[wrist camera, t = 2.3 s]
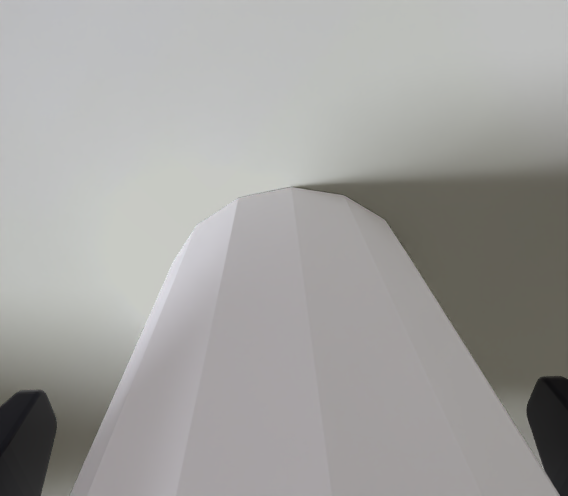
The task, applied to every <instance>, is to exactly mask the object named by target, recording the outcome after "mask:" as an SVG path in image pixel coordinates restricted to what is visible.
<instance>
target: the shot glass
mask: <svg viewBox="0 0 568 496" xmlns="http://www.w3.org/2000/svg"><path fill="white" fill-rule="evenodd" d="M69 496H560V495H559V493H558V492H557V490H556V488H555V487H554V485H553V484H552V482H551V481H550V479H549V477H548V476H547V474H546V473H545V471H544V469H543V468H542V466H541V465H540V463H539V462H538V460H537V458H536V457H535V455H534V454H533V452H532V450H531V449H530V447H529V446H528V444H527V443H526V441H525V439H524V438H523V436H522V435H521V433H520V431H519V430H518V428H517V427H516V425H515V423H514V422H513V420H512V419H511V417H510V416H509V414H508V412H507V411H506V409H505V408H504V406H503V404H502V403H501V401H500V400H499V398H498V397H497V395H496V393H495V392H494V390H493V389H492V387H491V385H490V384H489V382H488V381H487V379H486V378H485V376H484V374H483V373H482V371H481V370H480V368H479V366H478V365H477V363H476V362H475V360H474V358H473V357H472V355H471V354H470V352H469V351H468V349H467V347H466V346H465V344H464V343H463V341H462V339H461V338H460V336H459V335H458V333H457V332H456V330H455V328H454V327H453V325H452V324H451V322H450V320H449V319H448V317H447V316H446V314H445V313H444V311H443V309H442V308H441V306H440V305H439V303H438V301H437V300H436V298H435V297H434V295H433V294H432V292H431V290H430V289H429V287H428V286H427V284H426V282H425V281H424V279H423V278H422V276H421V274H420V273H419V271H418V270H417V268H416V267H415V265H414V263H413V262H412V260H411V259H410V257H409V255H408V254H407V252H406V251H405V249H404V248H403V246H402V245H401V243H400V242H399V240H398V239H397V237H396V236H395V234H394V233H393V231H392V230H391V228H390V227H389V225H388V224H387V222H386V221H385V219H383V218H381V217H380V216H378V215H376V214H374V213H373V212H371V211H369V210H368V209H366V208H364V207H363V206H361V205H359V204H358V203H356V202H354V201H353V200H351V199H349V198H348V197H346V196H344V195H340V194H333V193H327V192H320V191H314V190H308V189H301V188H295V187H289V188H284V189H279V190H274V191H269V192H264V193H259V194H254V195H249V196H245V197H240V198H237V199H236V200H234V201H233V202H231V203H230V204H228V205H226V206H225V207H223V208H222V209H220V210H219V211H217V212H216V213H214V214H212V215H211V216H209V217H208V218H206V219H205V220H203V221H202V222H200V223H199V224H197V225H196V227H195V228H194V230H193V231H192V233H191V234H190V236H189V237H188V239H187V241H186V242H185V244H184V245H183V247H182V248H181V250H180V251H179V253H178V255H177V256H176V258H175V259H174V261H173V263H172V265H171V268H170V270H169V272H168V274H167V277H166V279H165V281H164V283H163V286H162V288H161V290H160V292H159V295H158V297H157V299H156V301H155V304H154V306H153V308H152V310H151V313H150V315H149V317H148V319H147V322H146V324H145V326H144V328H143V331H142V333H141V335H140V337H139V340H138V342H137V344H136V347H135V349H134V351H133V353H132V356H131V358H130V360H129V362H128V365H127V367H126V369H125V371H124V374H123V376H122V378H121V380H120V383H119V385H118V387H117V389H116V392H115V394H114V396H113V398H112V401H111V403H110V405H109V407H108V410H107V412H106V414H105V416H104V419H103V421H102V423H101V426H100V428H99V430H98V432H97V435H96V437H95V439H94V441H93V444H92V446H91V448H90V450H89V453H88V455H87V457H86V459H85V462H84V464H83V466H82V468H81V471H80V473H79V475H78V477H77V480H76V482H75V484H74V486H73V489H72V491H71V493H70V495H69Z"/></svg>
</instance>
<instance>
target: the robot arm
mask: <svg viewBox="0 0 568 496" xmlns="http://www.w3.org/2000/svg"><path fill="white" fill-rule="evenodd" d="M527 418H528V421H529V424H530V427H531V430H532V433H533V436H534V439H535V443H536V446H537V449H538V452H539V455H540V458H541V461H542V464H543V467H544V470H545V473H546V474H547V476H548V477H549V479H550V481H551V482H552V484H553V485H554V487H555V488H556V490H557V492H558V493H559V495H560V496H568V379H567V378H565V377H562V376H544V377H541V378H539V379H538V380H537V382H536V385H535V387H534V389H533V392H532V394H531V397H530V399H529V401H528V404H527ZM56 428H57V421H56V417H55V414H54V412H53V409H52V407H51V404H50V402H49V399H48V397H47V395H46V393H45V392H44V391H43V390H22V391H19V392H17V393H16V394H14V395H13V396H12V397H11V398H10V399H9V400H7V401H6V402H5V403H4V404H3V405H2V406H1V407H0V496H41V492H42V488H43V484H44V480H45V476H46V472H47V467H48V463H49V459H50V455H51V451H52V447H53V442H54V438H55V434H56Z"/></svg>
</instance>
